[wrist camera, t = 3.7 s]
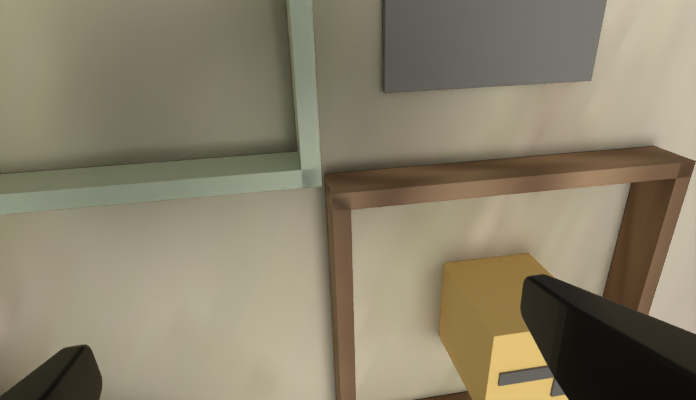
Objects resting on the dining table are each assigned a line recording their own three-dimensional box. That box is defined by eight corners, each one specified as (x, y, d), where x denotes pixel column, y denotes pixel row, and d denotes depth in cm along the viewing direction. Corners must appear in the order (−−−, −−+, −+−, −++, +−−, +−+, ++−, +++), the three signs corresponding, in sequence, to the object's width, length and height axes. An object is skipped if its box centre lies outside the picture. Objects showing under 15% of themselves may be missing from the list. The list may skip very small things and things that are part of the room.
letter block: (438, 334, 26) (483, 421, 21) (443, 262, 24) (495, 338, 19) (516, 323, 27) (580, 405, 22) (528, 252, 25) (601, 323, 20)
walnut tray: (337, 422, 28) (343, 458, 26) (324, 173, 21) (331, 194, 19) (592, 380, 30) (618, 410, 28) (654, 146, 24) (695, 161, 21)
